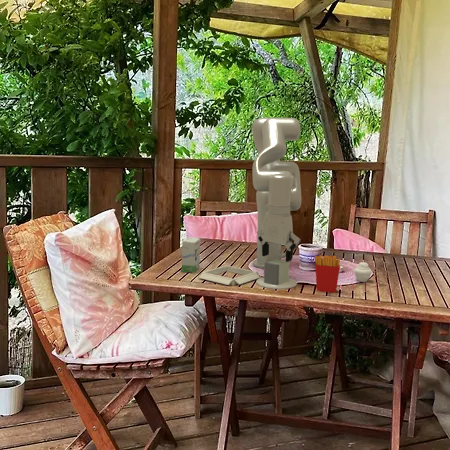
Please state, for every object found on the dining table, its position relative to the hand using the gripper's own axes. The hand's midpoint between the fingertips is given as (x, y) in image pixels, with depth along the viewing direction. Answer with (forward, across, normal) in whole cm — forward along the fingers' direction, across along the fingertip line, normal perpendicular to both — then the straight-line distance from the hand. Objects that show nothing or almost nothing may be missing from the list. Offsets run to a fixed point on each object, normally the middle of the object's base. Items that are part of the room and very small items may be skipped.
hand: (276, 258), depth 186 cm
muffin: (+9, +22, +22) cm, 33 cm away
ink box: (+10, -34, -8) cm, 36 cm away
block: (+8, +1, -2) cm, 8 cm away
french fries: (+8, +18, +2) cm, 20 cm away
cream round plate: (+9, +1, -2) cm, 9 cm away
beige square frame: (+9, -16, -7) cm, 19 cm away
